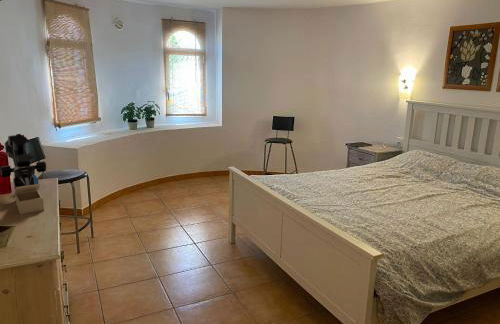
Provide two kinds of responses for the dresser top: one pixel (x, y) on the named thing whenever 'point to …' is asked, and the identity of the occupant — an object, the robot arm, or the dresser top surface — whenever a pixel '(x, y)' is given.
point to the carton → (29, 202)
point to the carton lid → (27, 187)
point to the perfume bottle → (35, 179)
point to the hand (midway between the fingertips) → (27, 183)
